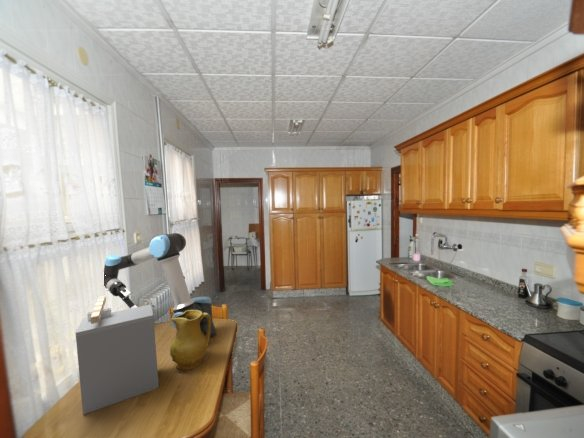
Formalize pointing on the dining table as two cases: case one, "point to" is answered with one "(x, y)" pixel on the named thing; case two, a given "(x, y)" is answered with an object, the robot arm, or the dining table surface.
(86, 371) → the stand
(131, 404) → the dining table surface
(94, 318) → the rod
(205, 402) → the dining table surface
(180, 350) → the pitcher
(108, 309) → the ridge
